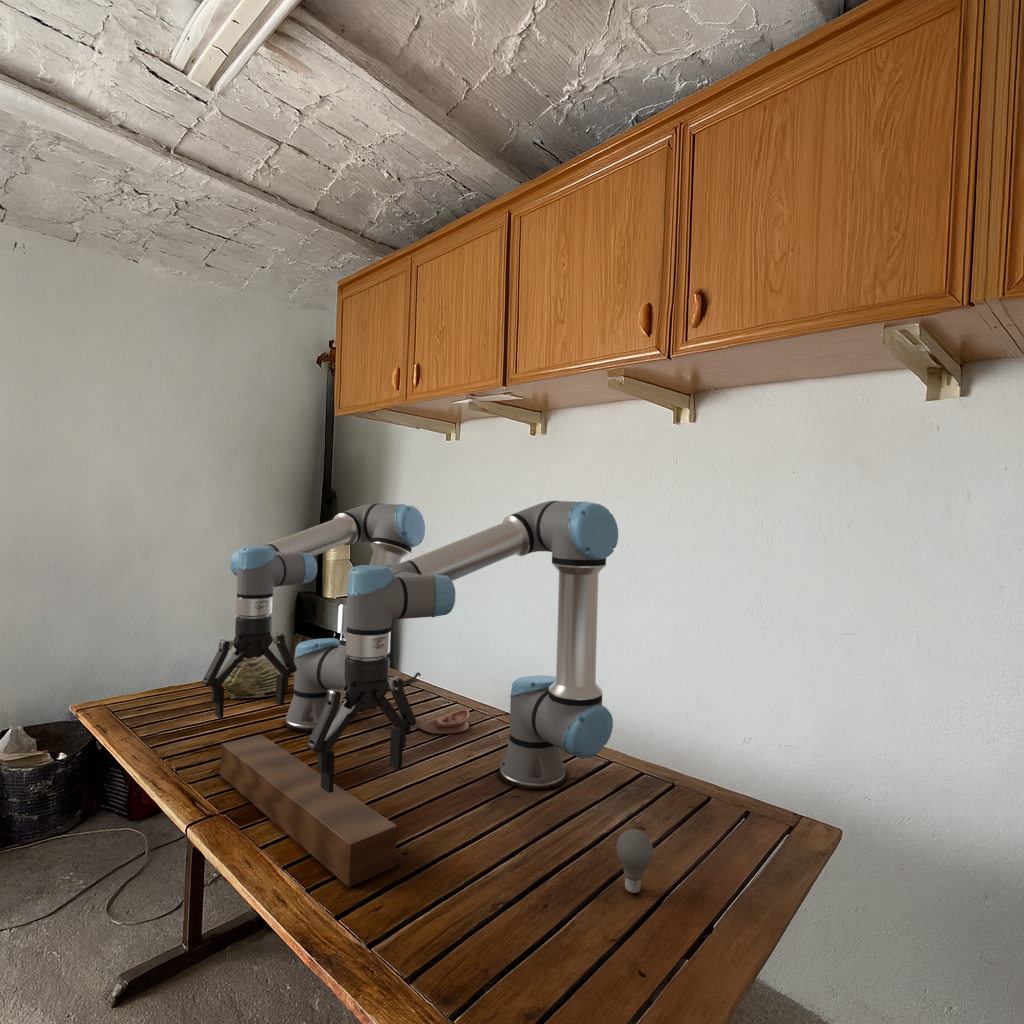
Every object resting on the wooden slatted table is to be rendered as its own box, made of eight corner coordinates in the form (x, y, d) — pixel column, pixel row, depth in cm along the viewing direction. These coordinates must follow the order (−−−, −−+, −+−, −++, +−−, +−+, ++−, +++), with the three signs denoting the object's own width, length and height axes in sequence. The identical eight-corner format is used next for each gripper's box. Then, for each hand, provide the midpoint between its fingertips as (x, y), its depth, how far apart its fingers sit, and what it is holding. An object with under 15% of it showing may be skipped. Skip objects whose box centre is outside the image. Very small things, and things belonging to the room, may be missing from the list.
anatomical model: (415, 716, 173) (429, 704, 184) (414, 731, 173) (428, 717, 184) (462, 722, 170) (473, 709, 181) (461, 737, 170) (472, 722, 181)
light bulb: (610, 879, 108) (613, 822, 108) (644, 879, 109) (647, 822, 109) (619, 902, 102) (622, 840, 102) (655, 901, 103) (658, 840, 103)
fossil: (218, 695, 195) (220, 647, 195) (278, 685, 208) (279, 640, 207) (228, 703, 189) (230, 653, 188) (289, 692, 201) (290, 645, 201)
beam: (220, 775, 142) (221, 743, 142) (260, 764, 148) (261, 734, 148) (348, 887, 103) (350, 844, 103) (395, 866, 110) (397, 825, 110)
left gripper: (201, 624, 130) (197, 727, 130) (314, 612, 147) (310, 703, 148) (188, 618, 135) (184, 717, 135) (298, 608, 153) (295, 695, 153)
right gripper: (311, 672, 97) (305, 808, 98) (438, 650, 115) (433, 765, 116) (288, 662, 103) (283, 791, 103) (413, 642, 120) (408, 752, 121)
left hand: (250, 710), depth 142 cm, fingers open, 13 cm apart
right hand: (362, 778), depth 109 cm, fingers open, 13 cm apart
